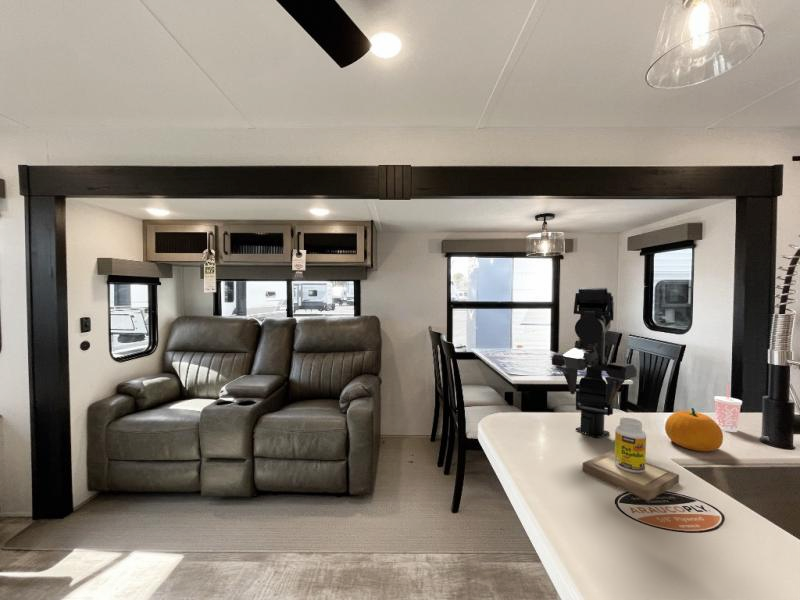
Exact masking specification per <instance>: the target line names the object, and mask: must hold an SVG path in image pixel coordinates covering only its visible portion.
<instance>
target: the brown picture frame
mask: <svg viewBox="0 0 800 600" xmlns="http://www.w3.org/2000/svg"><path fill="white" fill-rule="evenodd" d="M582 472H585V473H587V474H588V475H591V476H593V477H595V478H597V479H600V480H601V481H604V482H606V483H608V484H610V485H613V486H614V487H617V488H618V489H620V490H623V491H625V492H628V493H630V494H632V495H633V496H636V497H638V498H640V499H642V500H645V501H646V502H649V501H651V500H654V498H656V497H658V496H659V495H661V494H663V493H665V492H666V491H668V490H670V489H671V488H673V487H675V486H677V485H678V484H679V483H680V481H679V480H680V475H679V473H675V472H673V471H670V470H668V469H665V468H662V467H660V466H657V465H655V464H652V463H649V462H647V461H645V470H644V471H643V472H641V473H633V472H628V471H625V470H623V469H621V468H619V467H618V466H617V465H616V464H615V449H613V450H611V451H609V452H606V453H604V454H601V455H599V456H596V457H593V458H592V459H589V460H586V461H584V462H582ZM674 485H675V486H674ZM657 495H658V496H657Z"/></svg>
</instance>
